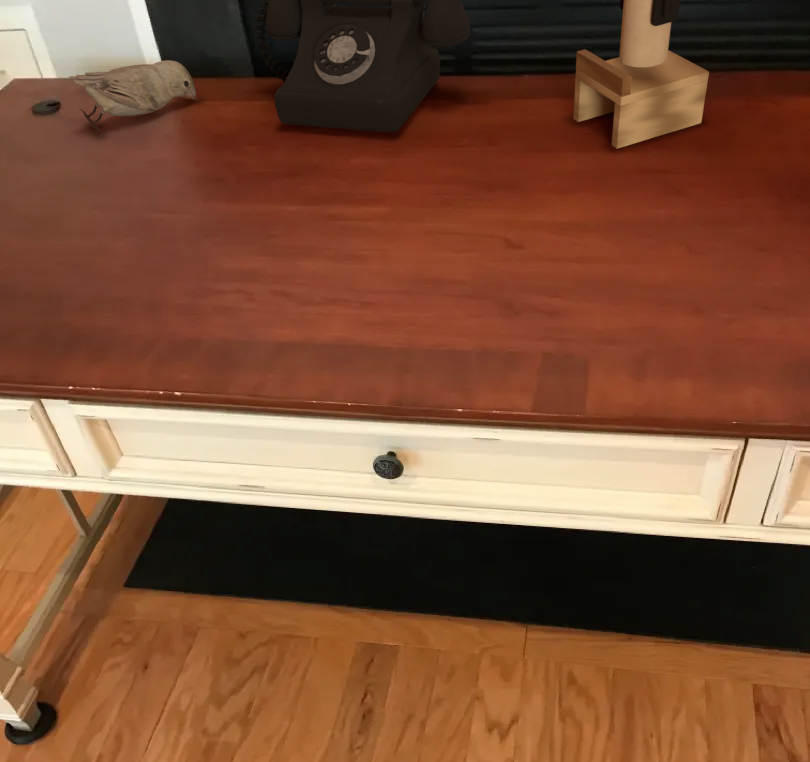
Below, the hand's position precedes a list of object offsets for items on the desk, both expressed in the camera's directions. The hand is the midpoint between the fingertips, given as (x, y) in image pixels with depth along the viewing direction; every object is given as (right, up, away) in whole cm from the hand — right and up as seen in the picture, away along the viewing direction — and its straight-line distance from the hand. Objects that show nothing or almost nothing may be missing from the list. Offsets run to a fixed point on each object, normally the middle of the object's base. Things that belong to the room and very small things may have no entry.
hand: (648, 13), depth 102 cm
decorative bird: (-64, -1, +24) cm, 69 cm away
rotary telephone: (-34, -1, +20) cm, 40 cm away
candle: (0, -3, +4) cm, 5 cm away
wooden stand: (+1, -8, +9) cm, 12 cm away
